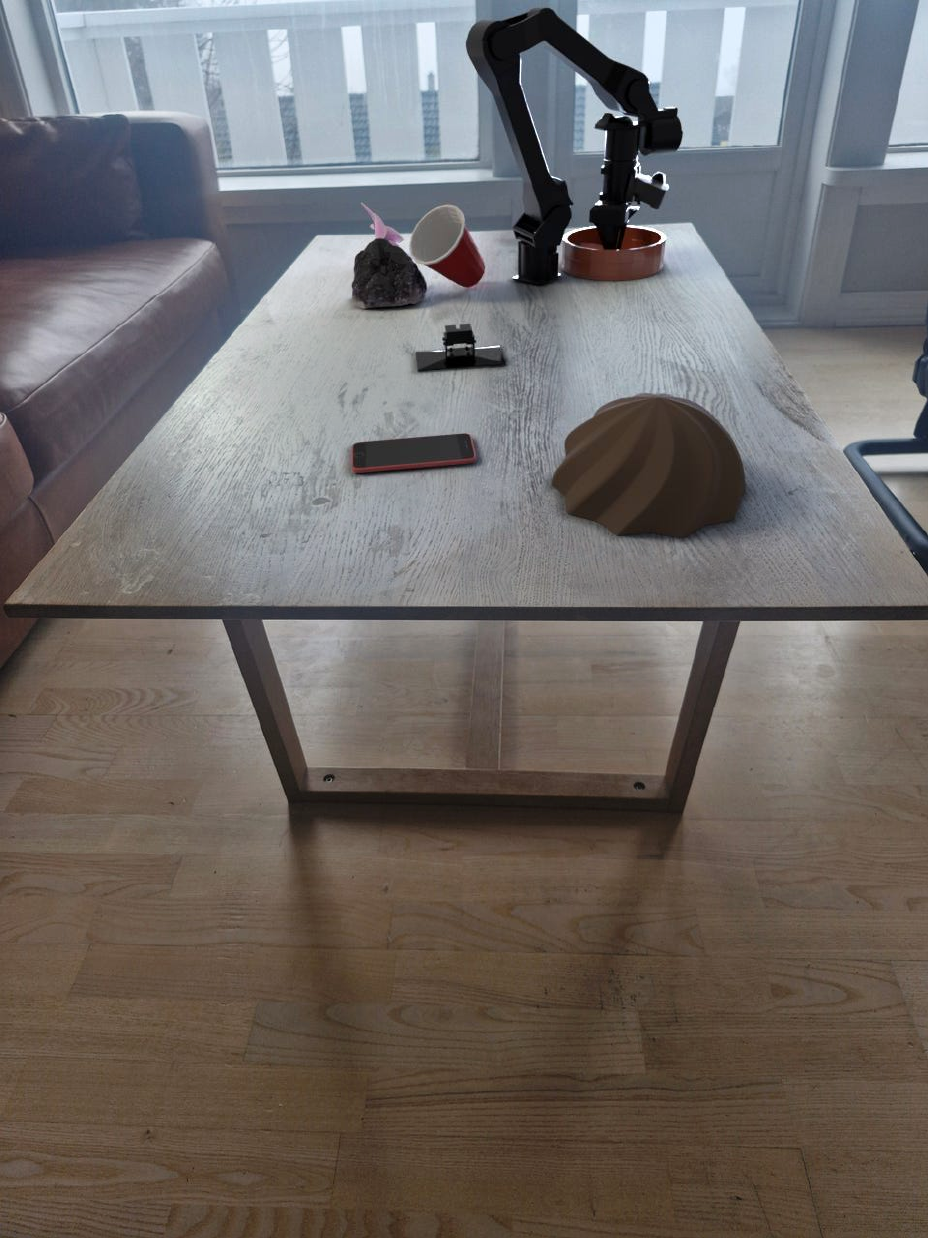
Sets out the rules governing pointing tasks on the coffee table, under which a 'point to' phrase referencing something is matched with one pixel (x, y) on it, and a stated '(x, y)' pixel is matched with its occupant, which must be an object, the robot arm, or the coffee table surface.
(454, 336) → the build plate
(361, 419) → the coffee table surface
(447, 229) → the plastic cup
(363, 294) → the crystal cluster
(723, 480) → the decorative dome
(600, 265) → the bowl
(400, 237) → the lily
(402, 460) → the smartphone
